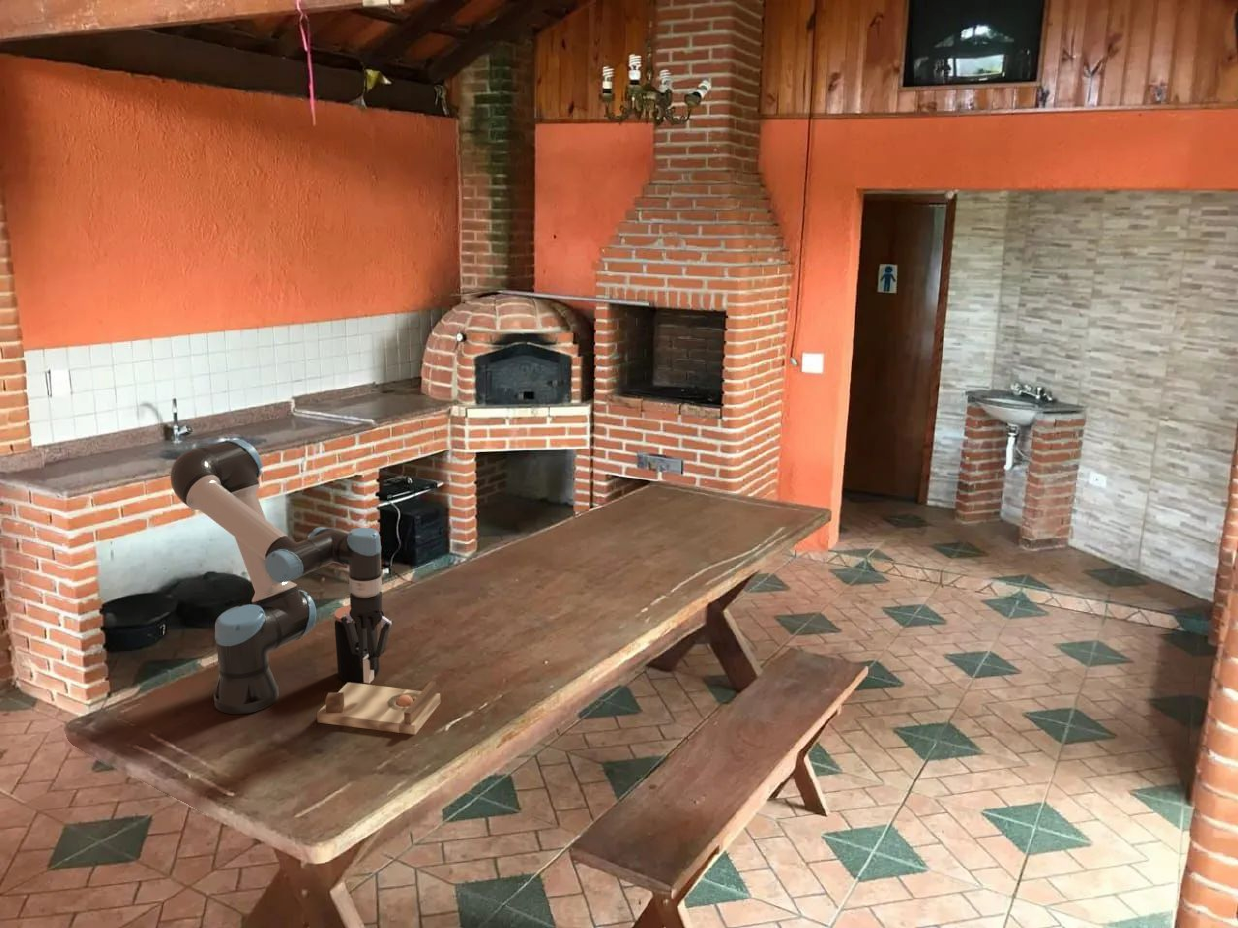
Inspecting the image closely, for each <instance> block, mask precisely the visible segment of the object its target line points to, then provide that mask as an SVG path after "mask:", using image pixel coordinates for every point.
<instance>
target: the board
mask: <svg viewBox="0 0 1238 928" xmlns="http://www.w3.org/2000/svg"><path fill="white" fill-rule="evenodd" d="M437 691H438V687H437V682H436V681H433V680H432V681H431V680H430V681H429V682H428V684H427V685H426V686H425V687H424V688H423V689H422V690H414V689H408V688H407V689H406V688H398V687H391V686H381V685H373V684H367V683H349V682H346V684H345V685H343V686H342V688H340V689H339V691H338V692H344V708H343V710H342V713H326V705H325V704H324V705H323V706H322V707H321V708H320V709H319V711H317V712H316V718H317V719H316V720H317V723H321V724H329V725H334V726H335V725H337V726H343V727H353V728H361V729H367V730H368V729H369V730H376V731H382V732H383V731H384V732H390V733H392V732H393V733H397V734H398V733H400V734H405V735H406V734H408V735H414V736H415V735H416V734H417V733H418V732H419V731H420V729H421V728H422V727H423V725H424V724H425V723H426V721H427V720H428V719H429V718H430V717H431V715H432V714H433V713H434V711H435V710H436V709H437V708H438V706H439V705H440V704H441V703H442V702H441V693H439V692H437ZM402 695H409V696H411V697H412V699H413V703H412V704H411V705H410V706H408V707H400V706H398V705H397V700H398V698H399V697H400V696H402Z"/></svg>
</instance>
